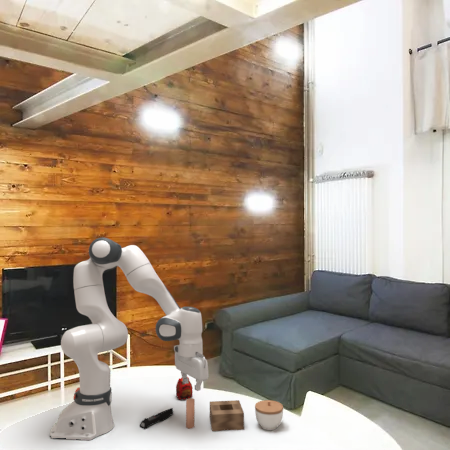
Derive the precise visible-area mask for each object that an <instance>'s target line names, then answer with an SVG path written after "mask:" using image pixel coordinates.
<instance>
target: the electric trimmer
mask: <svg viewBox="0 0 450 450" xmlns="http://www.w3.org/2000/svg"><path fill="white" fill-rule="evenodd" d="M173 414H174V408H173V407H170V408H168V409H166V410H164V411H161V412H158V413H157V414H153V415H151V416H149V417H146V418H143V419H142V420H141V421H140V423H139V428H140V429H142V430H146V429H147V430H148V427H150V426H152V425H154V424H156V423H158V422H162V421H164V420H167V419H168V418H169V417H171V416H173Z"/></svg>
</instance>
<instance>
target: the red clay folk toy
mask: <svg viewBox="0 0 450 450" xmlns="http://www.w3.org/2000/svg"><path fill="white" fill-rule="evenodd" d="M187 378H188V383H186V384H185V383H183V378H182V377H180V378H178V380H177V382H176V385H175V395H176V396H175V397H176V398H177V399H178V401H183V400H184V401H186V400H187V399H189V398H192V397H193V392H194V391H193V384H192V382H191V380H190V378H189V377H188V376H187Z"/></svg>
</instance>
